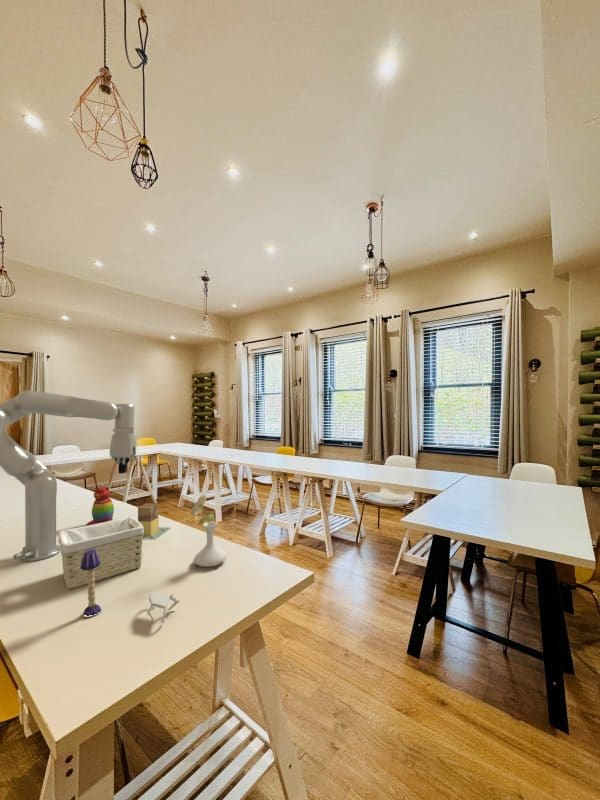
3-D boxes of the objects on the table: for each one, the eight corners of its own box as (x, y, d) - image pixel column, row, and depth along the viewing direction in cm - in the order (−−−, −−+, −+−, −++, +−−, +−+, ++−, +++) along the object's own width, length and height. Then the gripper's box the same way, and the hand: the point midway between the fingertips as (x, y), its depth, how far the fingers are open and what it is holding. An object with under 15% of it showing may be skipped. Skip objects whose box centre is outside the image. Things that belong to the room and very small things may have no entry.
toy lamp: (78, 620, 89) (78, 556, 89) (82, 610, 93) (82, 549, 94) (99, 615, 91) (99, 552, 91) (102, 606, 95) (102, 546, 96)
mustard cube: (151, 535, 145) (151, 521, 145) (138, 535, 146) (138, 521, 146) (158, 530, 151) (158, 517, 151) (146, 530, 152) (145, 516, 152)
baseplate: (154, 542, 141) (154, 538, 141) (123, 541, 142) (123, 537, 142) (171, 529, 155) (171, 527, 155) (142, 529, 156) (142, 526, 156)
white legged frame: (187, 613, 91) (187, 595, 92) (160, 631, 84) (160, 611, 84) (159, 600, 98) (159, 583, 98) (131, 616, 90) (131, 597, 91)
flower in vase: (212, 553, 129) (211, 487, 130) (233, 560, 122) (232, 491, 123) (183, 566, 118) (182, 494, 119) (204, 575, 112) (203, 499, 112)
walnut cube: (151, 521, 145) (150, 507, 145) (137, 521, 146) (137, 507, 146) (158, 517, 151) (158, 503, 151) (145, 516, 152) (145, 503, 152)
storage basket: (62, 594, 102) (62, 544, 102) (57, 574, 114) (57, 530, 115) (145, 568, 117) (145, 526, 118) (133, 553, 130) (133, 515, 130)
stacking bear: (84, 526, 161) (84, 489, 161) (102, 519, 170) (102, 484, 171) (102, 528, 158) (102, 490, 158) (119, 521, 167) (119, 485, 168)
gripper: (102, 431, 147) (101, 473, 146) (134, 432, 145) (132, 475, 144) (114, 430, 155) (113, 471, 154) (144, 431, 152) (143, 472, 152)
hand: (122, 472), depth 149 cm, fingers closed
